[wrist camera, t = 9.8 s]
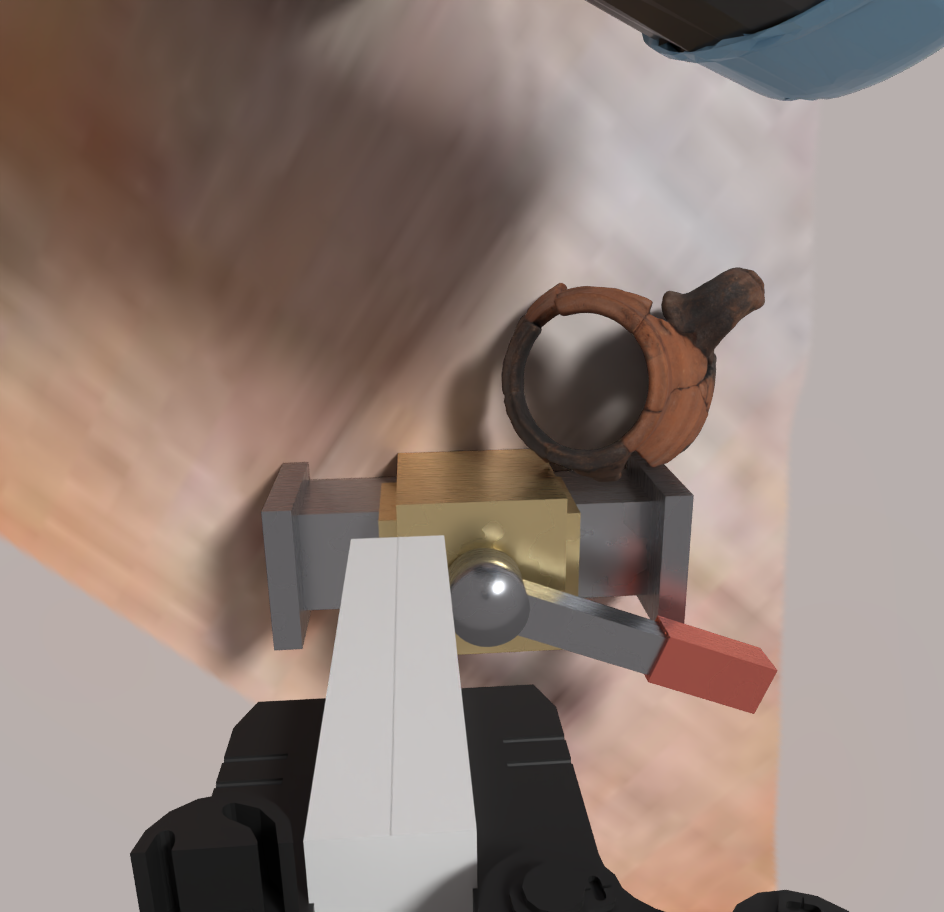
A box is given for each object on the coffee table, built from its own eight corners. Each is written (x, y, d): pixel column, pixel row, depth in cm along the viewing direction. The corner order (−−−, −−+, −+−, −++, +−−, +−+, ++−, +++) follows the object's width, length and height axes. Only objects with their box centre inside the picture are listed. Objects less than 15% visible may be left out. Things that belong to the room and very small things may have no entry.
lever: (434, 604, 35) (436, 633, 33) (461, 538, 34) (465, 562, 32) (730, 695, 37) (751, 728, 35) (762, 634, 37) (785, 664, 34)
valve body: (282, 457, 40) (258, 510, 33) (651, 444, 41) (698, 493, 35) (293, 589, 42) (272, 663, 36) (644, 573, 43) (687, 643, 37)
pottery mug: (625, 499, 43) (574, 535, 35) (511, 360, 44) (439, 366, 37) (824, 341, 38) (812, 344, 30) (686, 190, 39) (644, 158, 32)
